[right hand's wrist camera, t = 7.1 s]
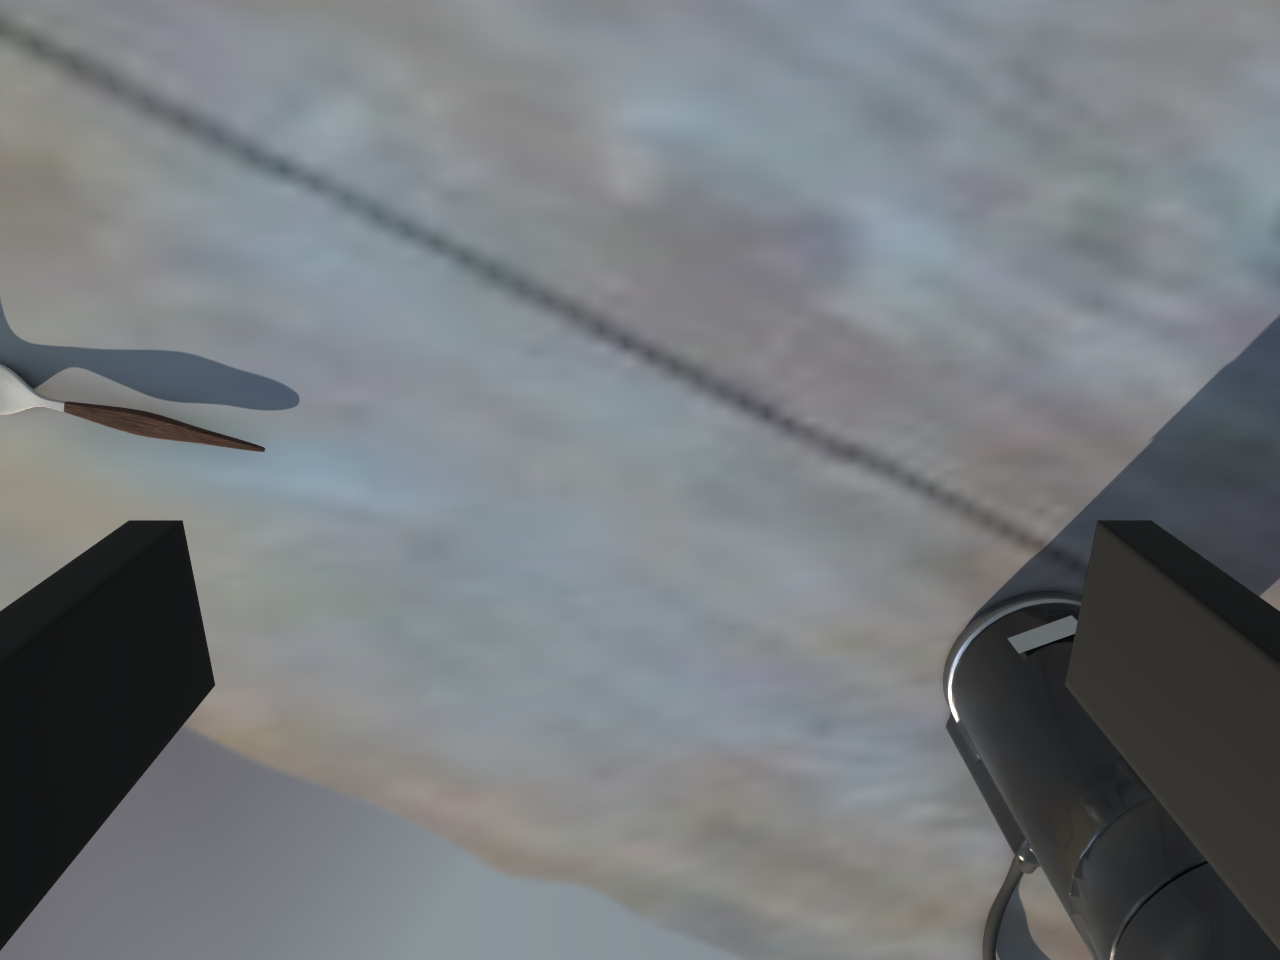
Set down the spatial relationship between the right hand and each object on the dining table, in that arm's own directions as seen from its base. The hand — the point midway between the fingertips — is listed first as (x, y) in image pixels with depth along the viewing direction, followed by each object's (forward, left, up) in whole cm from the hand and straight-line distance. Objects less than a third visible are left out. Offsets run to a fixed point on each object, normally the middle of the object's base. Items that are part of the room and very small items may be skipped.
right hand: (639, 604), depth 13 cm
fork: (+5, -25, -28) cm, 38 cm away
